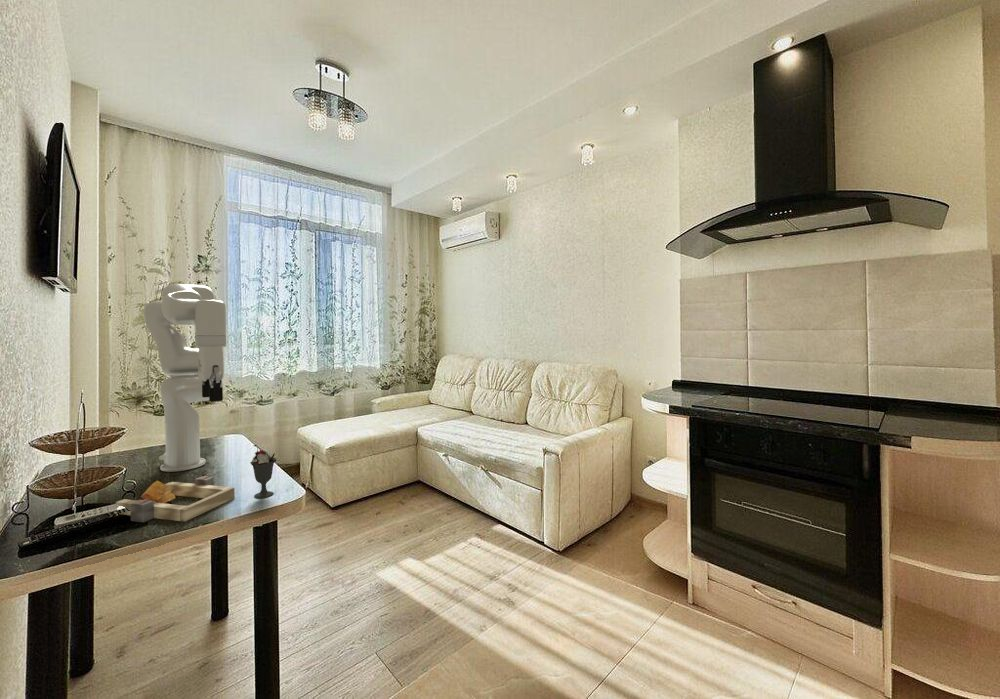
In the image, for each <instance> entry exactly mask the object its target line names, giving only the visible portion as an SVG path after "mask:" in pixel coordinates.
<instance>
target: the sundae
mask: <svg viewBox="0 0 1000 699" xmlns="http://www.w3.org/2000/svg"><path fill="white" fill-rule="evenodd" d="M253 447H256V449H257V450H256V452H254V454H255V455H254V456H253V457H252V460H251V461H250V463H249V464H250V465H251V466H252V468H253V473H254V478H255V481H256V482H257V483H259V484H260V486H261V489H260V491H259V492H258V493H255V494H254V495H253V497H254V498H255V499H266V498H269V497H272V496H273V495H274V492H273V491H269V490H268V489H267V483H268V482H269V481H270V480H271V479H272V478H273V477H272V476H273V472H274V463H276V462H277V458H276V457H274V456H275V453H273V454H272V455H271V453H270V452H268V451H266V450H263V449H261V448H260V447H259V446H258V445H257V444H254V445H253Z"/></svg>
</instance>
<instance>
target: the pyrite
mask: <svg viewBox="0 0 1000 699" xmlns="http://www.w3.org/2000/svg"><path fill="white" fill-rule="evenodd" d="M165 484H166V483H163V482H161V481H159V480H156V481H154V482H153V483H152V484H150V486H149V487H148V488H147V489H146V490H144V492H143V494H141V496H140V497H141V498H142V500H145V499H146V500H149V501H154V502H157V503H164V504H167V503H168V502H171V501H172V500H174V499H176V495H174V493H173V491H172V489H171V490H169V491H166V490H167V489H168V488H169V487H168V486H167V485H165Z"/></svg>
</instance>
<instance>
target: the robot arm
mask: <svg viewBox="0 0 1000 699" xmlns="http://www.w3.org/2000/svg"><path fill="white" fill-rule="evenodd" d="M161 291H162V292H161V298H162V300H156V301H151V302H149V303H146V305H145V307H144V310H143V317H144V321H145V325H146V328H147V329H148V331H149V334H150V335H152V336H151V337H152V338H153V339H154V342H155V344H156V348H157V354H158V360H159V364H160V367H161V371H163V373H164V374H165V375H167V376H170V377H167V378H165V379H163V381H161V383H160V387H159V390H160V395H161V400H162V404H163V413H164V438H165V439H164V440H165V441H164V442H165V446H164V447H165V452H164V453H162V455H159V457H158V459H159V461H160V460H161V461H163V463H162V464H161V465H160V467H159V468H160V471H161V472H166V473H170V472H171V473H172V472H173V473H175V472H183V471H188V470H193V469H196V468H199V467H202V466H203V465H206V460H207V459H205V458H204V457H201V442H200V441H201V438H200V435H201V434H200V415H199V412H198V411H197V410H196V409H195V408H194V407H193V406H191V403H197V402H207V401H209V402H210V403H214V402H222V401H223V400H224V396H223V395H224V394H223V393H224V392H223V382H222V381H223V379H224V375H225V374H224V372H225V369H224V368H225V367H224V351H223V349H224V347H225V348H226V347H227V315H226V314H227V312H226V310H227V309H226V304H225V302H224V301H222V300H219V299H218V300H217V299H215V294H214V292H213V290H212V288H211V287H209V286H206V285H201V284H188V283H171V284H168V285H166V286H165V287H163V289H162V290H161ZM172 325H179V326H181V325H182V326H185V325H187V326H188V325H189V326H191V325H192V326H194V327H195V328H194V329H195V330H194V332H195V333H194V334H195V339H194V340H195V347H196V348H191V347H189V346H188V342H187V340H186V337H185V336H184V334H182V333H181V332H180V331H179V330H178V329H176V328H175V327H173V326H172Z"/></svg>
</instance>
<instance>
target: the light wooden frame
mask: <svg viewBox="0 0 1000 699" xmlns="http://www.w3.org/2000/svg"><path fill="white" fill-rule="evenodd" d="M214 478H215V477H214V476H209V475H205V476H204V475H202V476H198V477H196V478H194V483H191V482H190V483H189V482H178V481H171V482H170V481H169V482H168V483H164V484H165V485H167V486H168V487H169V488H168V489H167V490H166V491H169V490H171V489H172V491H173V493H174V495H175V496H178V497H188V498H197V499H199V498H200V500H198V501H196V502H193V503H191V504H189V505H181V504H173V503H171V504H170V503H159V502H158V501H156V502H154V501H149V500H146V499H139V500H137V499H136V500H135V499H126V498H124V499H121V500H118V501H115V506H116V505H118V506H123V507H125V508H127V509H128V510H130V511H125V512H121V513H119V514H118V515H125V516H130V521H131V522H136V523H146V522H148V521H151V520H153V519H160V520H167V521H176V522H177V521H178V522H187V521H190V520H192V519H193V518H195V517H198V516H200V515H202V514H204V513H206V512H209V511H211V510H212V509H214V508H217V507H219V506H221V505H223V504H225V503H228V502H230V501H232V500H233V499H235V487H232V486H222V485H221V486H220V485H215V481H214V480H215V479H214Z"/></svg>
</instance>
